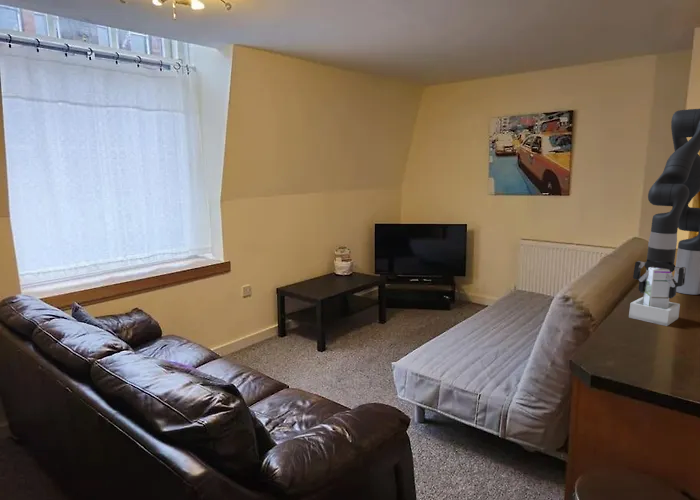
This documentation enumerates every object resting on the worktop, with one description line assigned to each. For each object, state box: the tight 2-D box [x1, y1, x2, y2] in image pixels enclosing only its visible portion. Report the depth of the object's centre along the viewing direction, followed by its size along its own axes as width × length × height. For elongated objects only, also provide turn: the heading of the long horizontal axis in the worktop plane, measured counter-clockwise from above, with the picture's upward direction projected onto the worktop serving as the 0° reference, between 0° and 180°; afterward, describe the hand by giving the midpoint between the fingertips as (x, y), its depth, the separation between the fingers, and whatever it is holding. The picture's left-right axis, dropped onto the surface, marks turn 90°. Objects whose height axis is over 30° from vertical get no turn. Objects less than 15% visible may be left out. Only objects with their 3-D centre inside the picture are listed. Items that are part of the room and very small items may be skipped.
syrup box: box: [642, 267, 673, 309], centre depth 153 cm, size 6×6×14 cm
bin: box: [628, 296, 681, 327], centre depth 154 cm, size 11×11×5 cm
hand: (656, 295), depth 154 cm, fingers closed on syrup box, 7 cm apart
